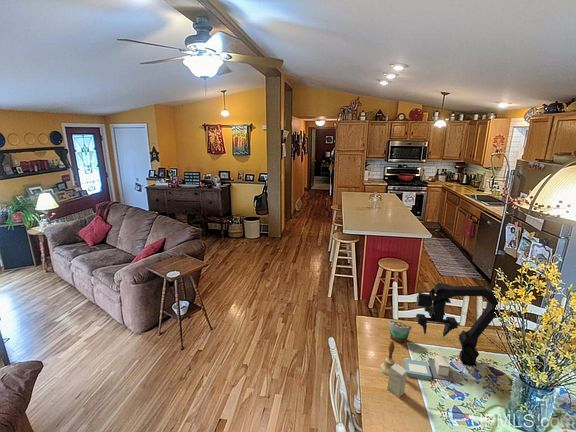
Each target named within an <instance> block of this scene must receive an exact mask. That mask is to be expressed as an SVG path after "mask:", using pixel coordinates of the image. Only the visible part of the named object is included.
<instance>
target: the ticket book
mask: <svg viewBox="0 0 576 432" xmlns="http://www.w3.org/2000/svg"><path fill="white" fill-rule="evenodd" d="M403 365H404V369H406V370H407V371H408V372H407V377H409V378H410V377H411V378H416V379H423V380H430V381H431V380H432V379H433V376H432V372H431V369H430V366H429V362H428V360H426V361H425V360H419V359H414V358H413V359H412V358H407V357H403Z"/></svg>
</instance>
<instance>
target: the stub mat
mask: <svg viewBox="0 0 576 432" xmlns="http://www.w3.org/2000/svg"><path fill="white" fill-rule="evenodd" d="M427 363H428V366H429V369H430V373H431V376H432V379H436V380H442V381H448V382H454V383H455V381H456V380H455V378H454V377H455V376H454V375H453V372H452V370H451V367H450V368H449V373H448V376H444V375H438V374H437V370H436V367H435V360H431V359H427Z"/></svg>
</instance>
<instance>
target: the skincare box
mask: <svg viewBox="0 0 576 432" xmlns="http://www.w3.org/2000/svg"><path fill="white" fill-rule="evenodd" d="M407 372H408V371H407V370H406V369H405V367H402V366H401V365H399V364H398V363H396V362H395V364H394V365H392V366H391V367H390V374H389V375H388V381H387V390H388V391H389V392H391V393H392V394H394V395H395V396H396V397H397V398H400V397H401V396H403V394H405V389H406V384H407V378H408V376H407Z"/></svg>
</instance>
